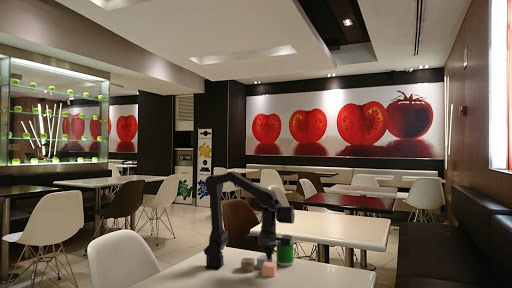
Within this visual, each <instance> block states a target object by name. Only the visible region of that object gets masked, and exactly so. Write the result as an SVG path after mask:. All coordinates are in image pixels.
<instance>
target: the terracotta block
mask: <svg viewBox="0 0 512 288" xmlns="http://www.w3.org/2000/svg"><path fill="white" fill-rule="evenodd" d="M277 273H278V263H277V261H276V262H274V261H272V262H266V261H265V262H264V264H263V265H262V268H261V276H263V277H269V278H270V277H271V278H275V276H276V275H277Z"/></svg>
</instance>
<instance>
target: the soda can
mask: <svg viewBox="0 0 512 288" xmlns="http://www.w3.org/2000/svg"><path fill="white" fill-rule="evenodd" d="M283 235H284V234H280V235H278V236H277V237H282V236H283ZM294 251H295V250H294V242H293V243H292V244H291V246H282V245H281V244H280V242H279V244H278V245H277V247H276V263H277V265H279V266H281V267H290V266H292V265H293V264H294V262H295V259H294V258H295V255H294V253H295V252H294Z"/></svg>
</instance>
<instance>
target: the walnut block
mask: <svg viewBox="0 0 512 288" xmlns="http://www.w3.org/2000/svg"><path fill="white" fill-rule="evenodd" d="M254 270H255V257H243V258H242V259H241V261H240V272H244V273H246V272H248V273H253V272H254Z"/></svg>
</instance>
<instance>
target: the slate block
mask: <svg viewBox="0 0 512 288" xmlns="http://www.w3.org/2000/svg"><path fill="white" fill-rule="evenodd" d="M265 261H266V262H273V256H272V257H271V260H270V261H268V259H267V256H266V254H261V255H259V256H258V257H257V258H256V268H259V269H262V265H263V264H264V262H265Z"/></svg>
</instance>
